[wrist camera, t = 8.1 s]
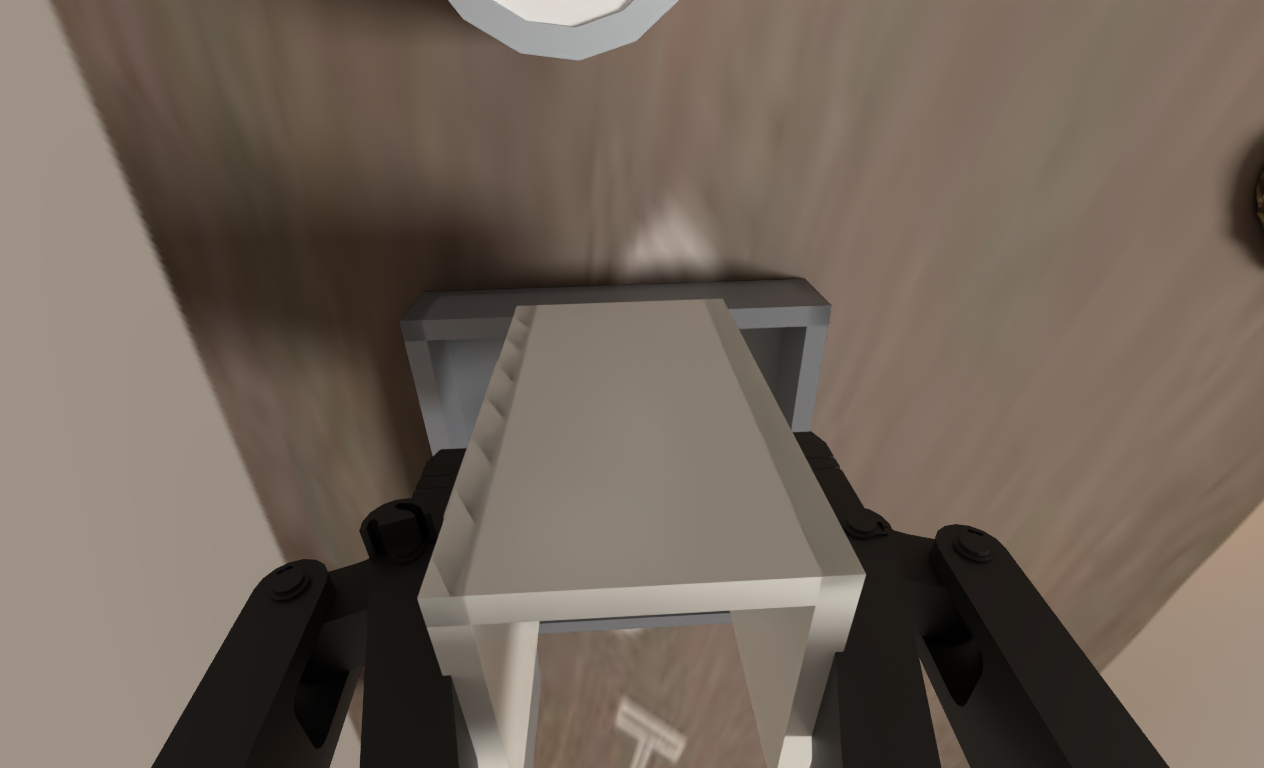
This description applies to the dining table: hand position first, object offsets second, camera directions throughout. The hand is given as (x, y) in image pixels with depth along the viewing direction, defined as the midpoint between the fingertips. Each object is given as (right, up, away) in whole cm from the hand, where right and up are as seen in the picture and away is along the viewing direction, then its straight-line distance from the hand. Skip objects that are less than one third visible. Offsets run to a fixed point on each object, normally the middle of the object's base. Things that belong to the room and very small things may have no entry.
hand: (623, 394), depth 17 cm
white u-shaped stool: (0, 0, 0) cm, 0 cm away
